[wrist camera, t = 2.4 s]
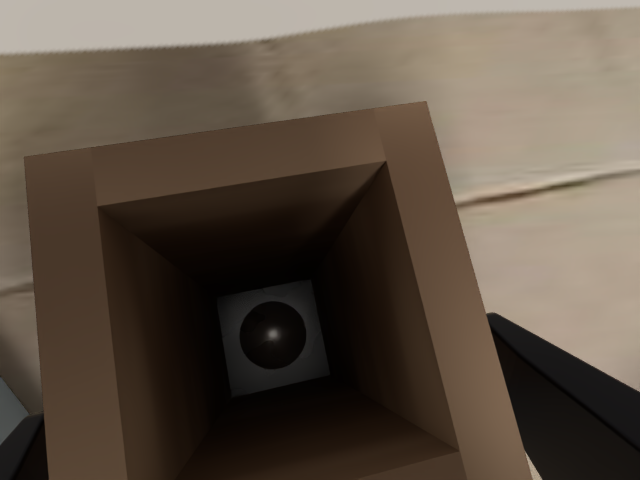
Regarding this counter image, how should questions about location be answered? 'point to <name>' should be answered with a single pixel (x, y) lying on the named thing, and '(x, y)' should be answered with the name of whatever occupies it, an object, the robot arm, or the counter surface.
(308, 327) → the plate
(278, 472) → the walnut collar
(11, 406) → the slate tray
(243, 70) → the counter surface
